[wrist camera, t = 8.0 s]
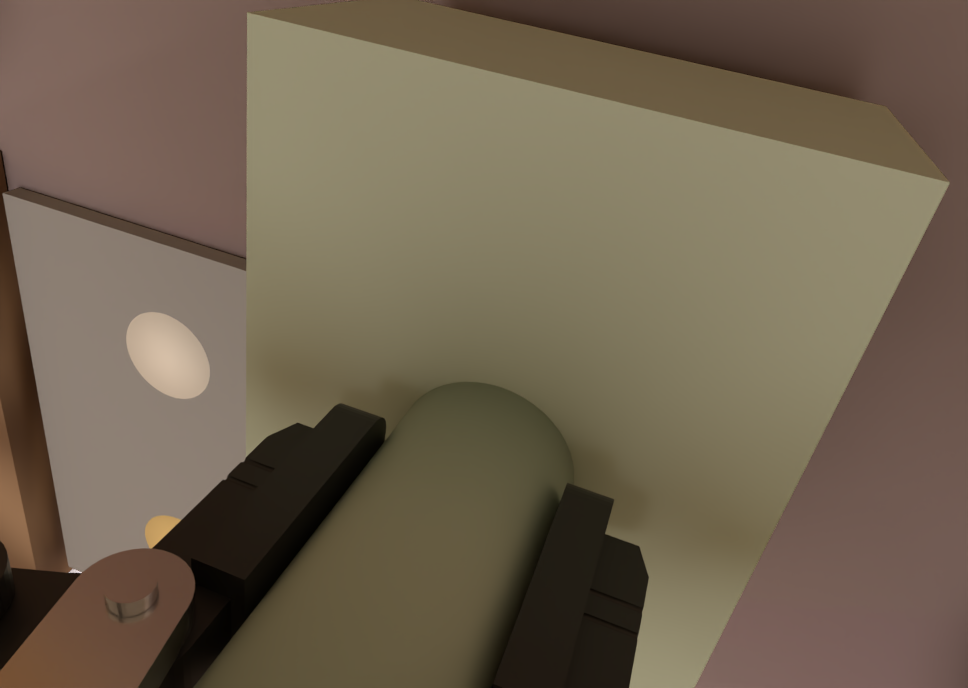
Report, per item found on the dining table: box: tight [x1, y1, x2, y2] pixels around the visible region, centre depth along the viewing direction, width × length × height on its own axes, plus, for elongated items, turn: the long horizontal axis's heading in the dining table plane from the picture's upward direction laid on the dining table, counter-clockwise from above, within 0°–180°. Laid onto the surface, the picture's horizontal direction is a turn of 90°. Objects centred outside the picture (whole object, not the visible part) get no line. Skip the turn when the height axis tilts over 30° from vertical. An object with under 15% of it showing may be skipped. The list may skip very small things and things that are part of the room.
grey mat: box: [3, 188, 246, 572], centre depth 25 cm, size 16×11×1 cm
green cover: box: [193, 0, 950, 688], centre depth 12 cm, size 12×9×11 cm
